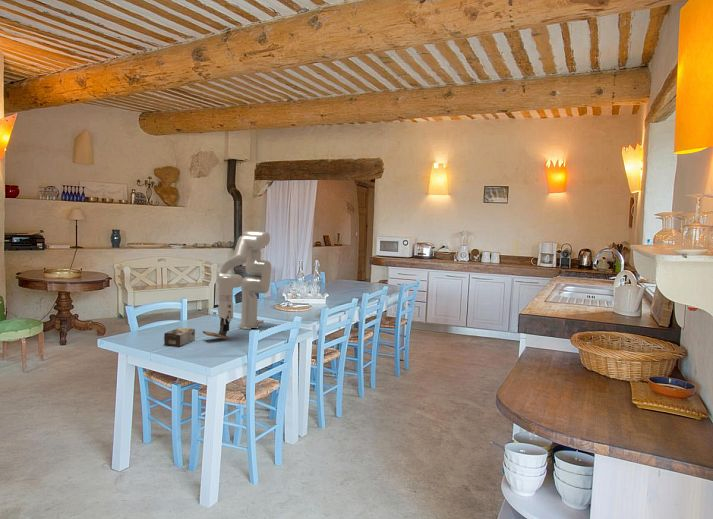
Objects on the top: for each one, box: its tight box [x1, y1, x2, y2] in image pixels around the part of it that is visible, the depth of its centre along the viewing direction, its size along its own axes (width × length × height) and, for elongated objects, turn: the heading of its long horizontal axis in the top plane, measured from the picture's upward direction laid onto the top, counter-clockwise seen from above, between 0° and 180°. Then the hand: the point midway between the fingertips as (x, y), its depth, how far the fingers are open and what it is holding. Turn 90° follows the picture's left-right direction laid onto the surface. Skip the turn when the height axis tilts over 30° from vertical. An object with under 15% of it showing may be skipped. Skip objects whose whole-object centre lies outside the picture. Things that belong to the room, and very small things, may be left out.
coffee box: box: [163, 326, 196, 347], centre depth 266 cm, size 9×6×16 cm
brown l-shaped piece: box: [202, 317, 229, 340], centre depth 275 cm, size 12×7×11 cm, turn 131°
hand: (224, 330), depth 278 cm, fingers open, 3 cm apart
